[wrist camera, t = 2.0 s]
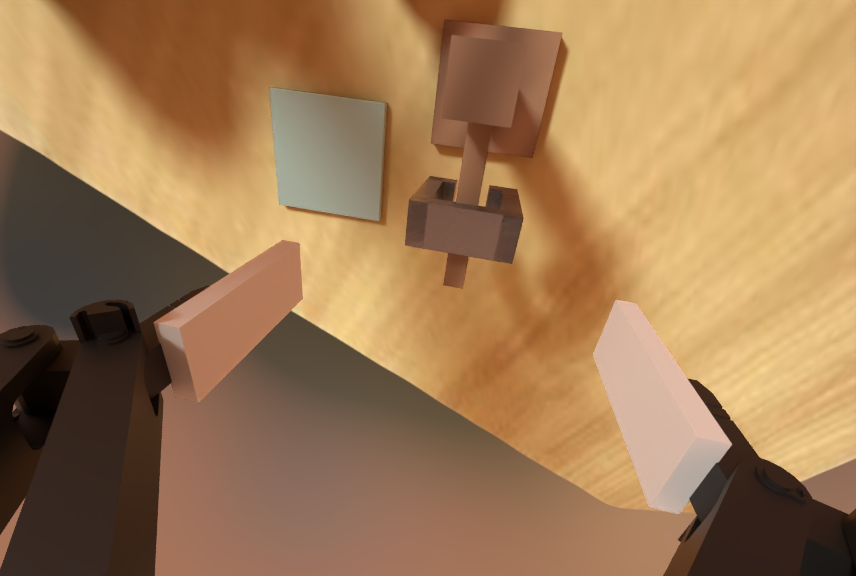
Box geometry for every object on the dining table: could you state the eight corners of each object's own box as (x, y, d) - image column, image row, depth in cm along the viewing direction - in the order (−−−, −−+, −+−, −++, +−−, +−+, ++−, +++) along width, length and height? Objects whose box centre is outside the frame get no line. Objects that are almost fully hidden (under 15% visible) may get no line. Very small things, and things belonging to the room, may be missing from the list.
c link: (426, 212, 31) (405, 245, 24) (430, 176, 29) (409, 199, 22) (508, 225, 30) (512, 263, 23) (517, 189, 29) (523, 218, 22)
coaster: (282, 202, 43) (279, 204, 42) (273, 87, 37) (269, 87, 36) (380, 219, 42) (378, 221, 41) (387, 102, 36) (384, 102, 35)
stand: (424, 213, 40) (358, 316, 21) (446, 22, 32) (369, -95, 13) (514, 228, 40) (529, 349, 20) (560, 34, 31) (660, -71, 12)
